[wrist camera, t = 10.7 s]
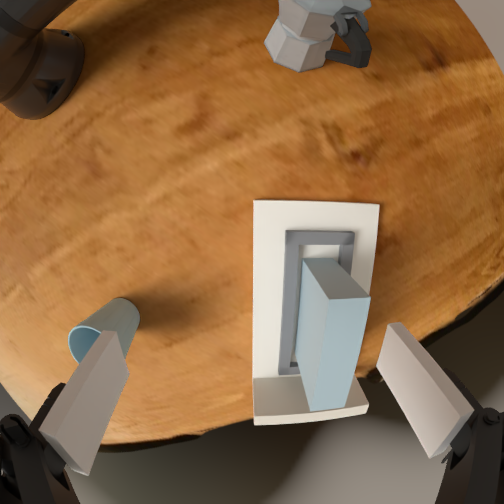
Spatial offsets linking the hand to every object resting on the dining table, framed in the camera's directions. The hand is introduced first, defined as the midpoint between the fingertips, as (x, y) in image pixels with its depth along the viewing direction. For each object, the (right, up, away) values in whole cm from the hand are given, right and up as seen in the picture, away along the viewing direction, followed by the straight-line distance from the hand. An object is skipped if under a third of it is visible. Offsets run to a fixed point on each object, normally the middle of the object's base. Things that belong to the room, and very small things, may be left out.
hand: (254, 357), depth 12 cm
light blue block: (+8, -3, +24) cm, 25 cm away
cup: (-19, -4, +25) cm, 32 cm away
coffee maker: (+6, +31, +16) cm, 35 cm away
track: (+8, -2, +25) cm, 26 cm away
